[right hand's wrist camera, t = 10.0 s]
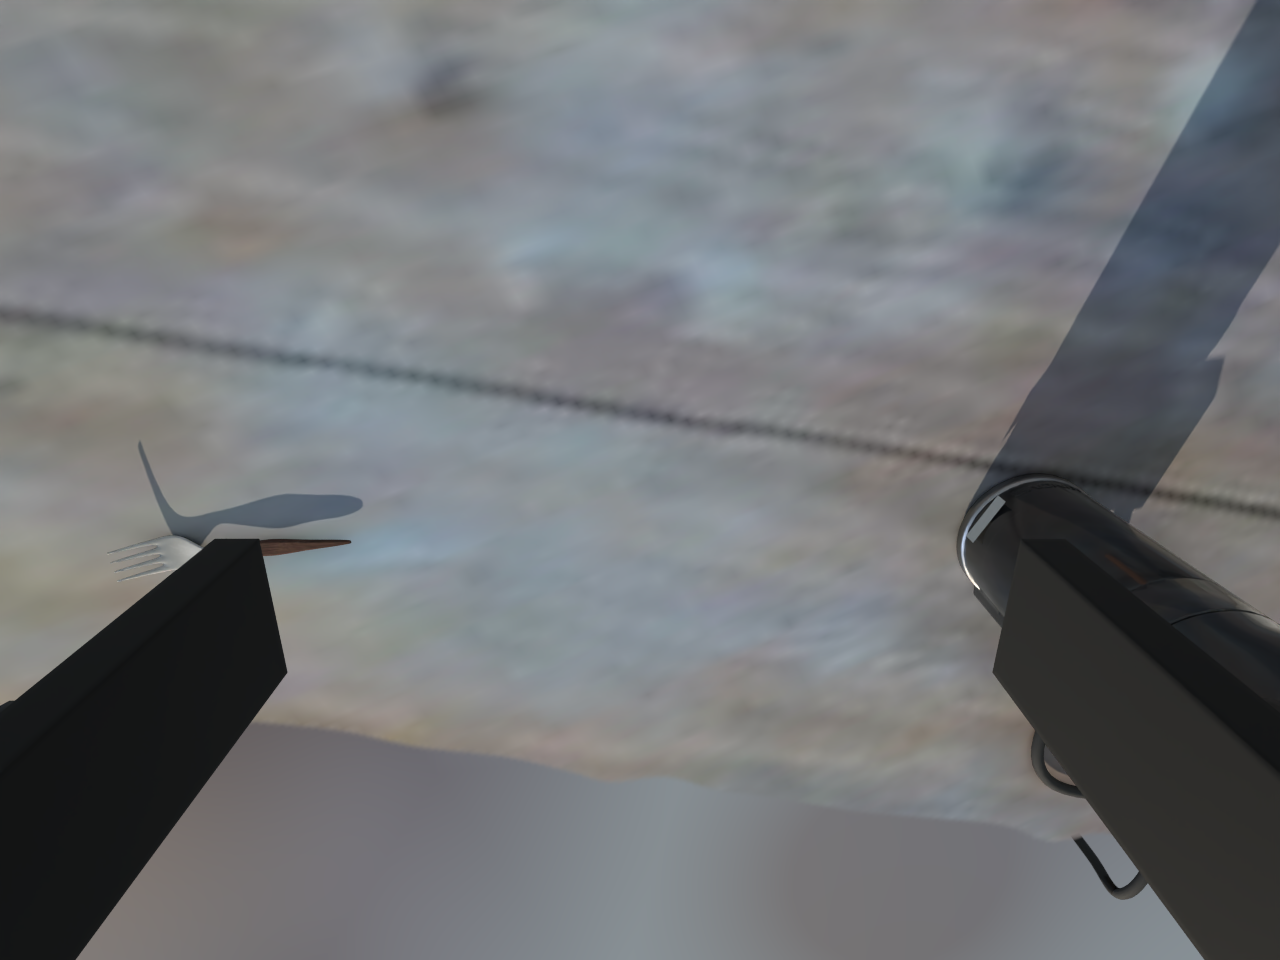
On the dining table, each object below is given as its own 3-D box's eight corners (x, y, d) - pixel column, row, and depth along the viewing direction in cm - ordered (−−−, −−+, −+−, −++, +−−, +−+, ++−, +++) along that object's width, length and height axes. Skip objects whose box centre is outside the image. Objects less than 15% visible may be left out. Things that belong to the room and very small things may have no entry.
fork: (357, 555, 51) (347, 568, 49) (136, 570, 52) (117, 584, 50) (349, 521, 50) (338, 534, 49) (124, 537, 51) (104, 550, 49)
